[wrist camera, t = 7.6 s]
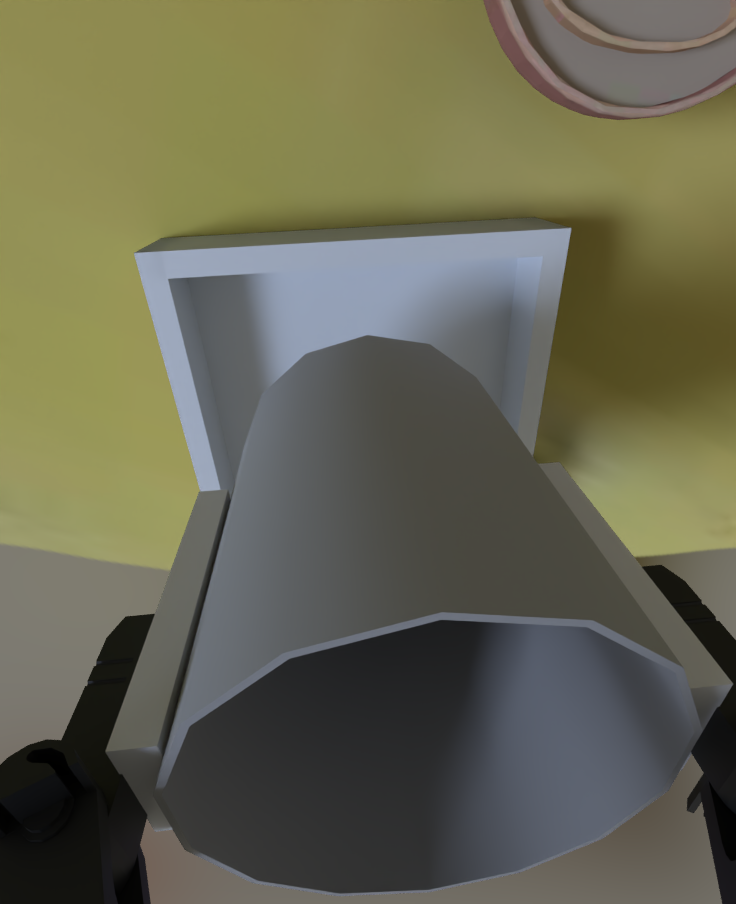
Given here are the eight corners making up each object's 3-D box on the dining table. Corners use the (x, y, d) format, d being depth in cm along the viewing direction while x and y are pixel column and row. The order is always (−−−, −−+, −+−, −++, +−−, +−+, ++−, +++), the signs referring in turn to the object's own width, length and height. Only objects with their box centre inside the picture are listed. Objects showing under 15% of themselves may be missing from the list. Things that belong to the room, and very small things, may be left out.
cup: (547, 428, 16) (803, 730, 8) (398, 580, 19) (460, 914, 11) (337, 278, 13) (369, 503, 5) (200, 488, 16) (67, 854, 8)
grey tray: (161, 238, 17) (133, 252, 15) (535, 217, 18) (571, 227, 15) (229, 514, 24) (218, 557, 21) (499, 491, 24) (520, 530, 22)
